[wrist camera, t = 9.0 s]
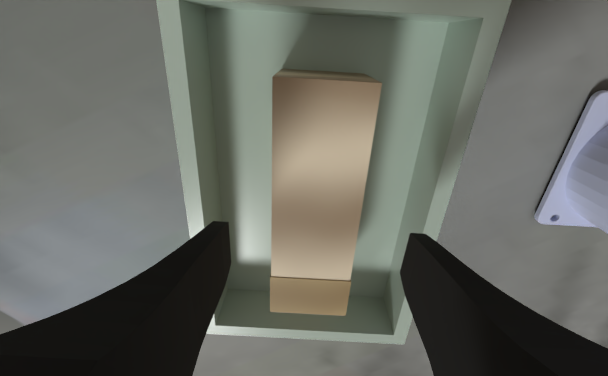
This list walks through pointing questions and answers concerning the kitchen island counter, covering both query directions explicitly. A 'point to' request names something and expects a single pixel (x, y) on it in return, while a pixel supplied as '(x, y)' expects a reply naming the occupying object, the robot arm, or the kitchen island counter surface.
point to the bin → (385, 148)
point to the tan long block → (318, 185)
